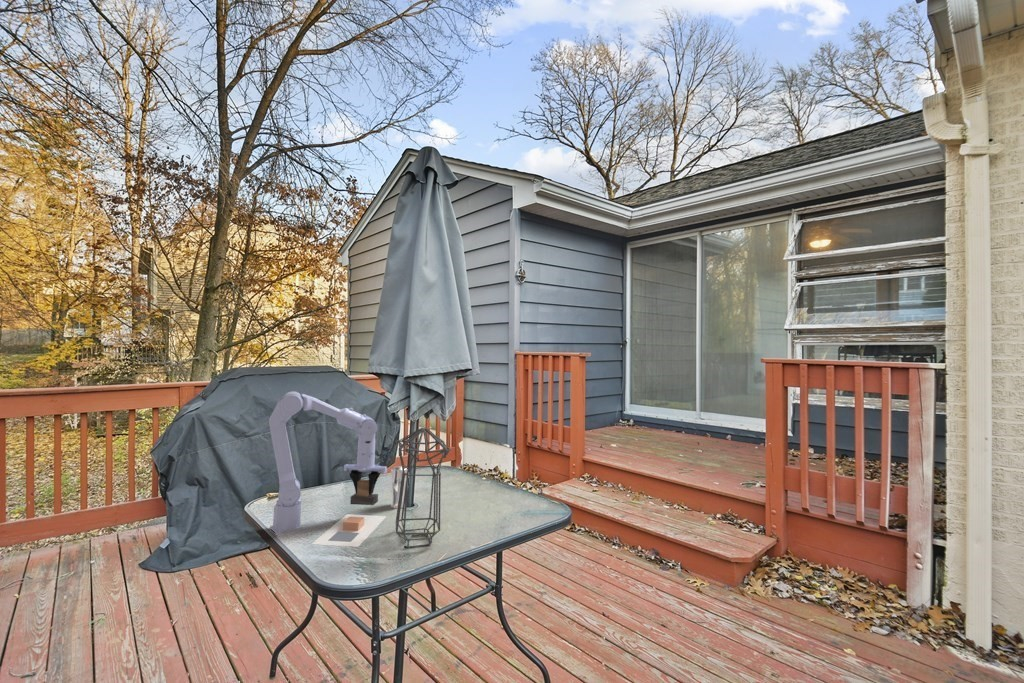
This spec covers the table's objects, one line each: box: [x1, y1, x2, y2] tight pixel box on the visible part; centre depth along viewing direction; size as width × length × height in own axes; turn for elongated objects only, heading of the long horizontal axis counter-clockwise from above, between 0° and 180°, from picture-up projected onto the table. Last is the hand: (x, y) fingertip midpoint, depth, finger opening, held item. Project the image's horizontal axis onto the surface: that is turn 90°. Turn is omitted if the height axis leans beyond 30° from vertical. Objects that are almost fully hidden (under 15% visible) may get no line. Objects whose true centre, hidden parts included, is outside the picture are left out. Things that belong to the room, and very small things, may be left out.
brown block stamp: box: [349, 478, 379, 506], centre depth 157 cm, size 4×8×8 cm, turn 86°
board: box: [311, 513, 387, 548], centre depth 147 cm, size 26×14×1 cm, turn 177°
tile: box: [343, 517, 364, 531], centre depth 148 cm, size 5×5×2 cm
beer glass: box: [389, 465, 407, 509], centre depth 171 cm, size 7×7×15 cm
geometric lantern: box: [395, 427, 452, 549], centre depth 143 cm, size 16×16×35 cm
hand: (364, 493), depth 157 cm, fingers closed on brown block stamp, 4 cm apart
